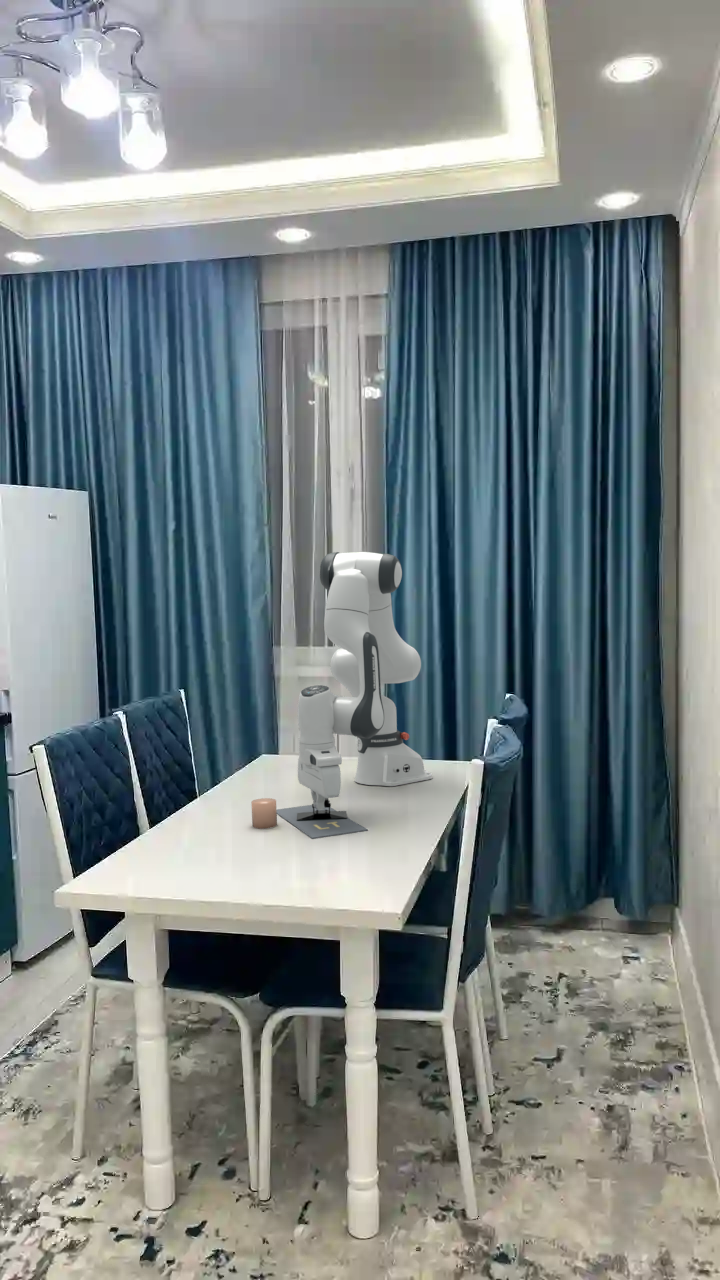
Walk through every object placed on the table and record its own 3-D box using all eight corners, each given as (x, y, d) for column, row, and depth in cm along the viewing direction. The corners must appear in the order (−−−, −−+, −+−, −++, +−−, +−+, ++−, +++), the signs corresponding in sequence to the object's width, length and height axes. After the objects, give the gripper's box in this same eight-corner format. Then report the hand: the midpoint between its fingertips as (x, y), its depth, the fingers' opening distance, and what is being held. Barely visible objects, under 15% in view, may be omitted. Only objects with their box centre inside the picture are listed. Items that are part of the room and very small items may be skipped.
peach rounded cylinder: (272, 820, 248) (271, 797, 248) (280, 826, 243) (279, 802, 242) (249, 824, 246) (248, 800, 245) (256, 830, 240) (255, 805, 240)
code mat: (323, 804, 263) (323, 802, 263) (367, 830, 236) (367, 829, 236) (272, 811, 258) (272, 809, 258) (312, 838, 231) (312, 837, 231)
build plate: (296, 821, 246) (295, 803, 245) (297, 814, 253) (296, 796, 253) (347, 819, 246) (346, 800, 246) (346, 811, 253) (345, 793, 253)
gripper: (290, 747, 253) (292, 801, 254) (319, 761, 234) (321, 819, 236) (314, 744, 256) (315, 798, 257) (344, 758, 237) (346, 816, 238)
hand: (318, 808), depth 246 cm, fingers closed
